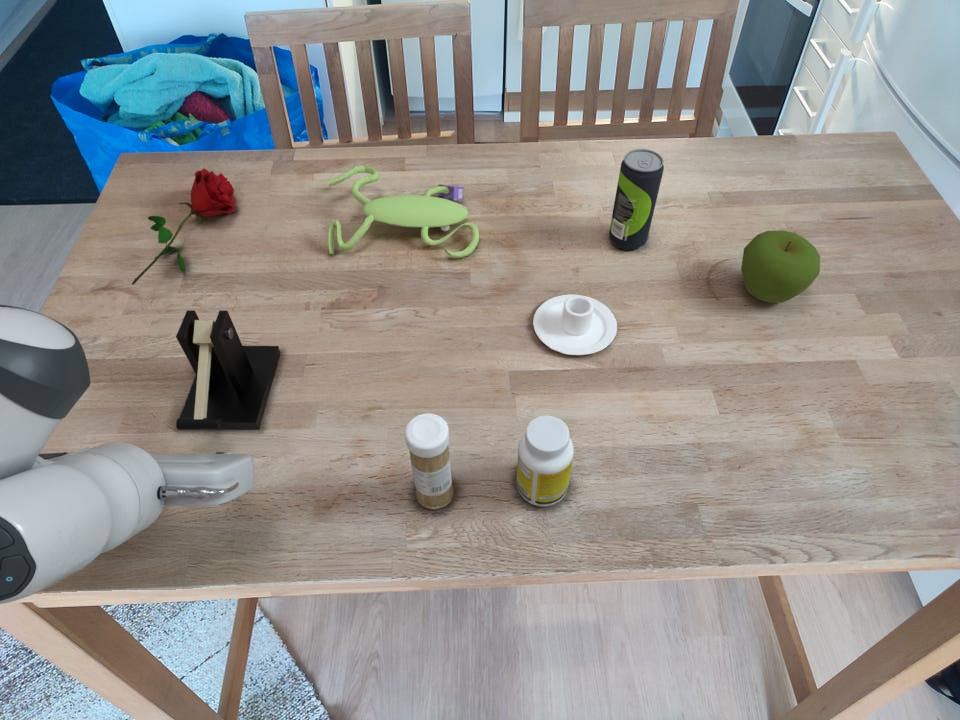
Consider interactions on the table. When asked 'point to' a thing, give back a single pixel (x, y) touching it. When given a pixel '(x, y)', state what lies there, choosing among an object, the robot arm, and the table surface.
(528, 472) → the pill bottle
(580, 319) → the candle holder
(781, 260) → the apple
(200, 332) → the lever
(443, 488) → the sprinkles bottle
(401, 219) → the figurine
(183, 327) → the bracket
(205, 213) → the flower
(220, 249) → the table surface
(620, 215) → the beverage can
